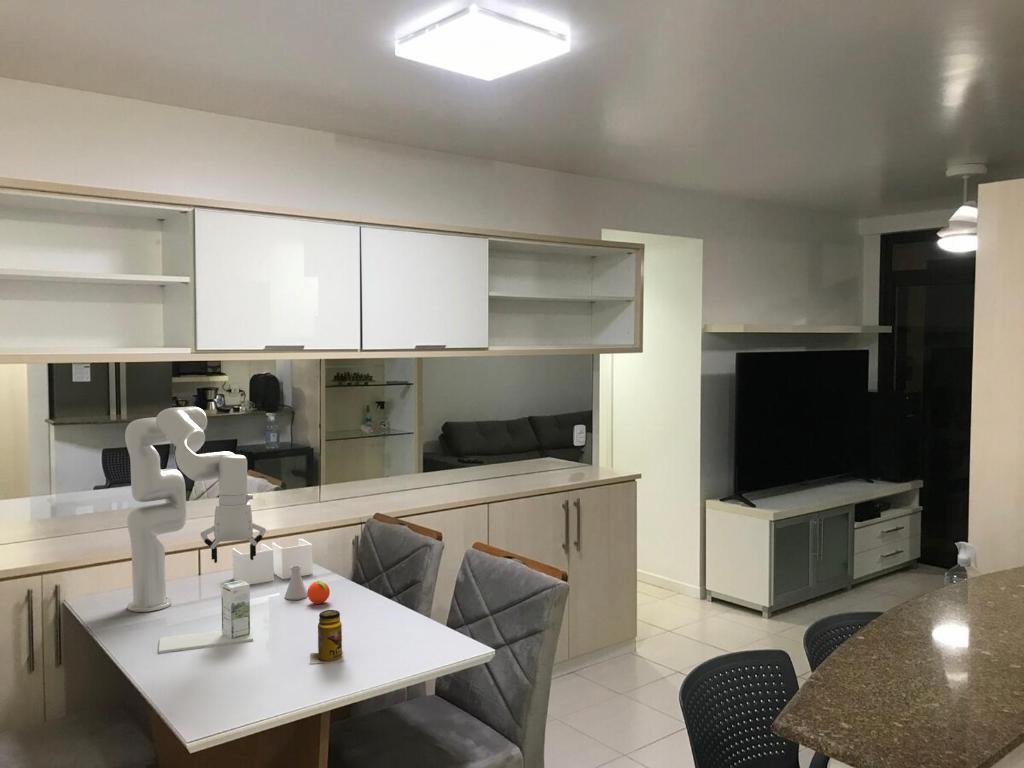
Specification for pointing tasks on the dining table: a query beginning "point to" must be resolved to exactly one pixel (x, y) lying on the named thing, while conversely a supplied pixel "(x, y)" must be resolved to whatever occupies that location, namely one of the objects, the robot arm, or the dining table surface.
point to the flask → (296, 585)
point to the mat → (199, 641)
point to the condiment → (328, 638)
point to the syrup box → (235, 609)
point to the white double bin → (272, 562)
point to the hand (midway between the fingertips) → (233, 560)
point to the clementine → (318, 592)
